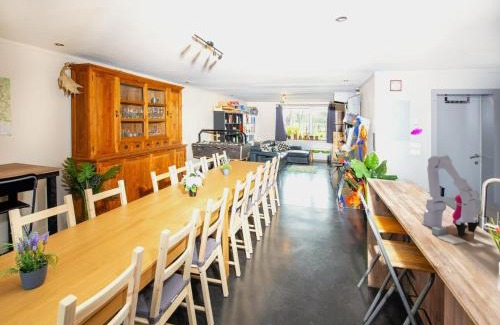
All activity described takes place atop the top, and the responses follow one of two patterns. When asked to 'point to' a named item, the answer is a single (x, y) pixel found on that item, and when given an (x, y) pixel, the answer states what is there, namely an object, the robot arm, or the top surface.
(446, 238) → the grey tile
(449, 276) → the top surface
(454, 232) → the terracotta block
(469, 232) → the walnut block
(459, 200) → the pepper mill
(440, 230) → the slate block
